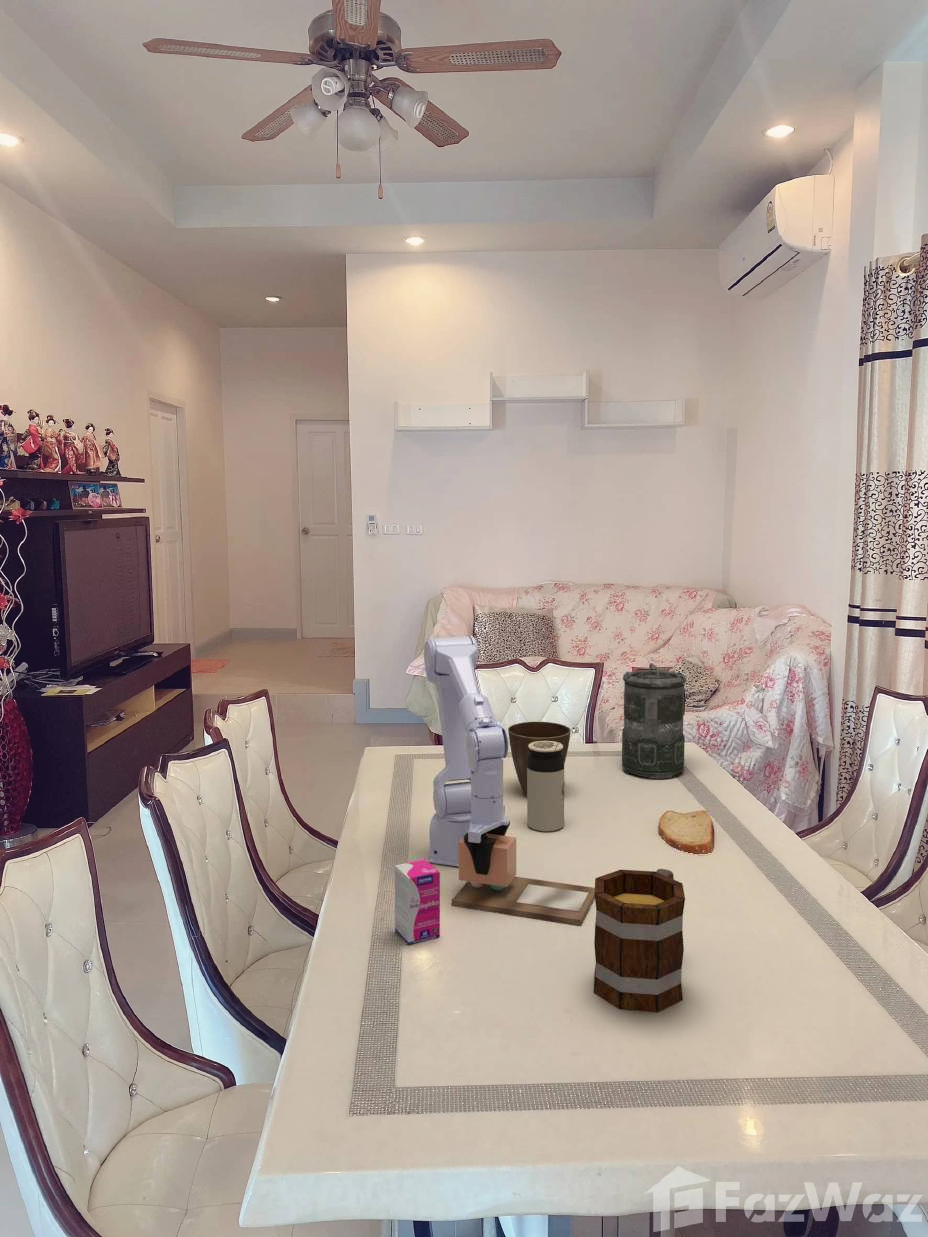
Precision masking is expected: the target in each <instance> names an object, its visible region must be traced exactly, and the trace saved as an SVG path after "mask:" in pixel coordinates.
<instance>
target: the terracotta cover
mask: <svg viewBox="0 0 928 1237" xmlns="http://www.w3.org/2000/svg"><path fill="white" fill-rule="evenodd" d="M487 835H488V837H489V838H496V839H497V840H496V842H495V844H494V846H493V849H492V853H491V859H490V868H489V872H488V874H487V875H482V874H476V871H475V868H474V864H473V860H472V856H471V854H470V851H469V849H468V847H467V846H466V844H465V843H464V837H463V838H462V839H461V840H460V841H459V842H458V847H459V867H458V880H459V881H464V882H467V881H469V882H476V883H483V884H489V885H496V886H503V887H507V886H508V885H509V884H510V882H511V881H512V880H513V878H514V877H517V837H515V836H510V835H509V836H508V835H505V836H502V835H494V834H487V833H486V836H487Z"/></svg>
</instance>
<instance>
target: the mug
mask: <svg viewBox="0 0 928 1237" xmlns="http://www.w3.org/2000/svg"><path fill="white" fill-rule="evenodd" d="M594 879H595V880H594V888H595V893H594V894H595V899H594V901H595V910H596V911H595V914H596V916H595V923H594V941H593V942H594V943H593V944H594V956H595V966H594V974H593V994H594V995H596V996H598V997H599V998H601V999H602V1000H604V1001H606V1002H607V1003H609V1004H610V1005H612V1006H613V1007H615V1008H616V1009H619V1010H622V1011H633V1012H635V1011H636V1012H644V1013H645V1012H647V1013H657V1014H658V1013H660V1012H662V1011H663V1010H666V1009H668V1008H669V1007H673V1006H674V1005H676V1004H678V1003H680V1002H682V1001H684V999H683V988H682V987H683V986H682V971H683V970H682V969H683V968H682V967H683V962H684V961H683V960H684V959H683V958H684V954H685V953H684V952H685V948H684V947H685V946H684V937H683V936H684V934H683V919H684V918H683V917H684V909H685V904H686V894H685V892H684V891H685V890H684V885H683V883H682V881H681V882H680V881H678V880H677V879H675V878H674V873H673V871H672V870H670V869H666V868H658V869H657V870H656V871H655V870H654V871H652V870H651V871H650V870H639V869H638V870H634V869H618V870H615V871H613V872H609V873H607V874H604V875H601V876H598V877H595V878H594Z"/></svg>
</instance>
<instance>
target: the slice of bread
mask: <svg viewBox="0 0 928 1237" xmlns="http://www.w3.org/2000/svg"><path fill="white" fill-rule="evenodd" d="M710 816H711V815H710V814H709V813H708V811H707V810H697V811H690V812H683V813H681V812H677V811H675V810H666V811H665V812H664V813H663V814H662V815H661V817H660V818H659V820H658V828H657V834H658V835H659V836H660V837H661V840H662V839H663V840H664V841H665V842H666V843H665V842H664V841H663V840H662V841H663V842H664V843H665V844H667V845H668V846H670V847H671V848H673V849H675V848H676V849H675V850H677V849H678V851H679V850H680V852H682V851H684V852H683V853H685V852H688V853H687V854H689V853H693V854H692V855H694V854H708V853H711V852H712V853H713V851H714V847H715V828H714V827H715V825H714V822H713V820H712V818H711V817H710ZM712 853H711V854H712Z"/></svg>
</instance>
